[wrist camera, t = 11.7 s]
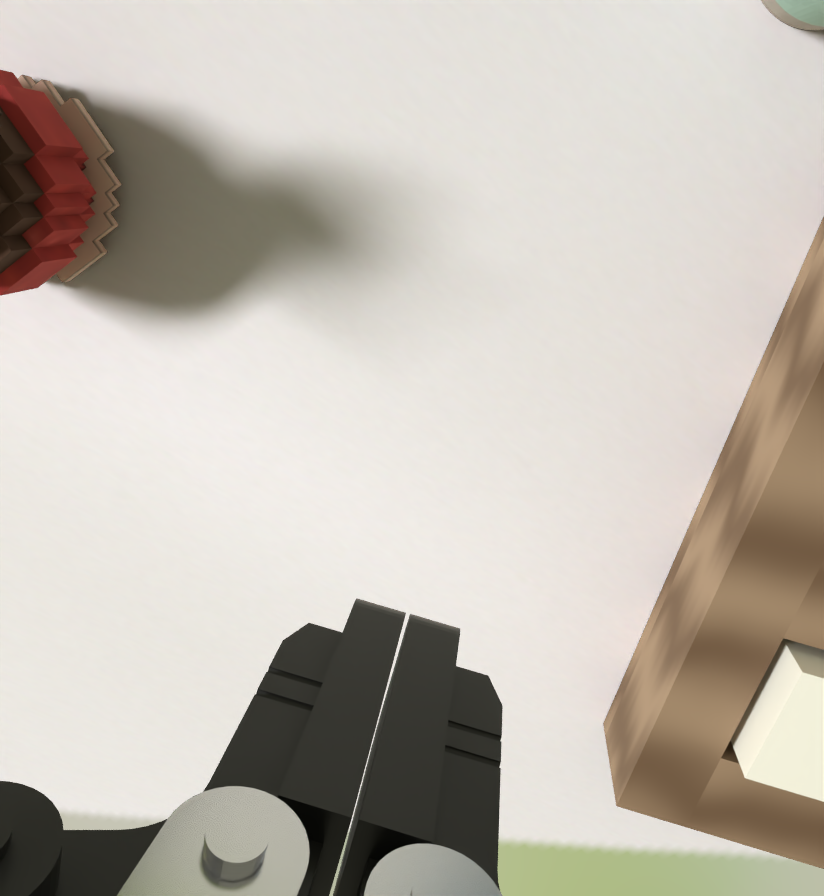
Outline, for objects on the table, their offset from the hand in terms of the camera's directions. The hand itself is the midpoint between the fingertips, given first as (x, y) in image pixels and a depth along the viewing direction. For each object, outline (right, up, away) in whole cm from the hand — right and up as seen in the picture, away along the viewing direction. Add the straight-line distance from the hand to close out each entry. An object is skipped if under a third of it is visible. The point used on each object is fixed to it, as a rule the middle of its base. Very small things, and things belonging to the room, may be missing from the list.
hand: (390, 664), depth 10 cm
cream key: (+19, -9, +25) cm, 33 cm away
